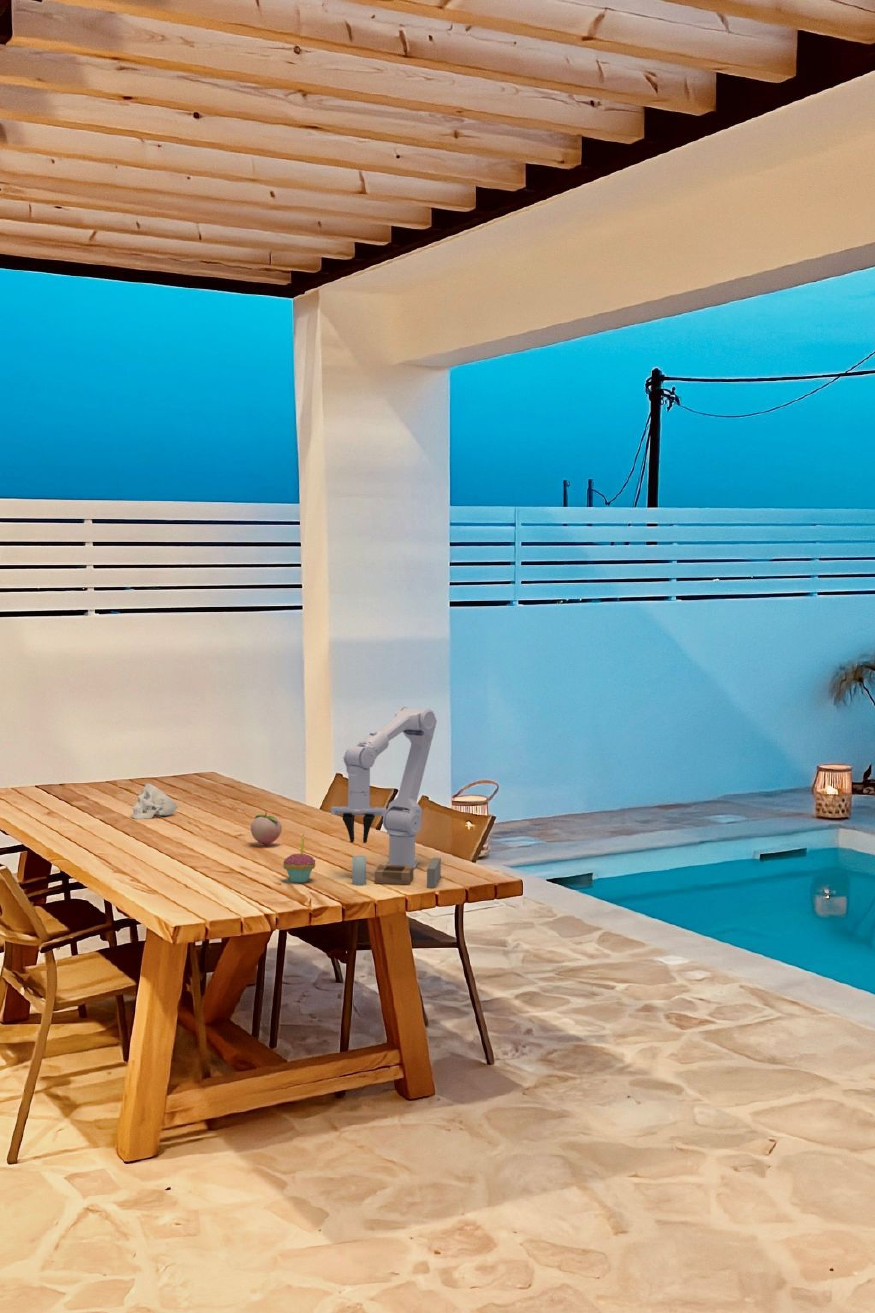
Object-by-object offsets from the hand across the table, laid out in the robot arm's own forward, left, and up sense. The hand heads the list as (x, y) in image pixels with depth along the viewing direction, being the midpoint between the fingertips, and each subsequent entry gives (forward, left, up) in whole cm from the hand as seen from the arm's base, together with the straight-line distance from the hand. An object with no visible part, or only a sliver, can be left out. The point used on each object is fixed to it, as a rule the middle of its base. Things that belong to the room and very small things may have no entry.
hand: (358, 842), depth 352 cm
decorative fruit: (-37, -34, -10) cm, 52 cm away
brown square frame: (+3, +10, -9) cm, 14 cm away
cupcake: (+7, -14, -10) cm, 19 cm away
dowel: (+8, +2, -9) cm, 12 cm away
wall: (+3, +21, -9) cm, 23 cm away
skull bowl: (-80, -83, -10) cm, 116 cm away
